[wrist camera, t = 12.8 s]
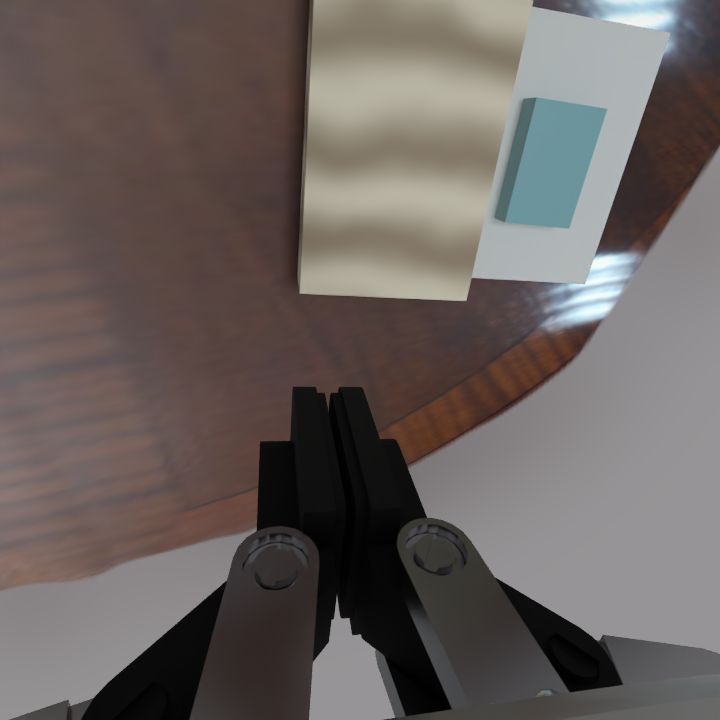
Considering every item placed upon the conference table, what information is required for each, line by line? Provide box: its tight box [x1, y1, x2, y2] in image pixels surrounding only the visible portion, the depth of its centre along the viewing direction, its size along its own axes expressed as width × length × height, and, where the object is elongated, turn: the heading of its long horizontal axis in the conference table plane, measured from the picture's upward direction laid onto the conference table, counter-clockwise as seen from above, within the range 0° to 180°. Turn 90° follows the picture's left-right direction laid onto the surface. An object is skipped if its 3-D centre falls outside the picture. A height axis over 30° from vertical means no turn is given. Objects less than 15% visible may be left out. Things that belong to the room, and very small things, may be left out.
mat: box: [471, 7, 671, 284], centre depth 38 cm, size 20×13×1 cm, turn 174°
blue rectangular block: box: [495, 97, 607, 229], centre depth 37 cm, size 9×6×2 cm, turn 173°
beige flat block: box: [297, 0, 533, 301], centre depth 34 cm, size 22×14×4 cm, turn 174°
